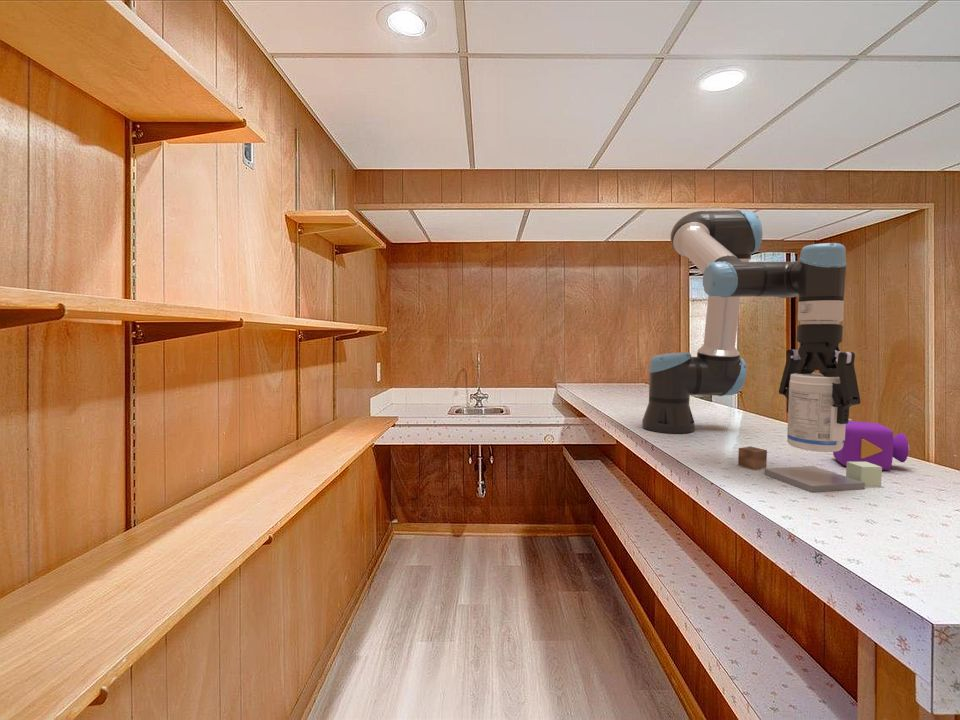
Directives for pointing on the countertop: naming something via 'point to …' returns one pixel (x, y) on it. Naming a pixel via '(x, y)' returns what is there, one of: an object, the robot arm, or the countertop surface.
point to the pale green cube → (865, 473)
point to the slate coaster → (814, 479)
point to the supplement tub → (811, 412)
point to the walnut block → (752, 457)
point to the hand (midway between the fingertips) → (814, 434)
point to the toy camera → (872, 445)
